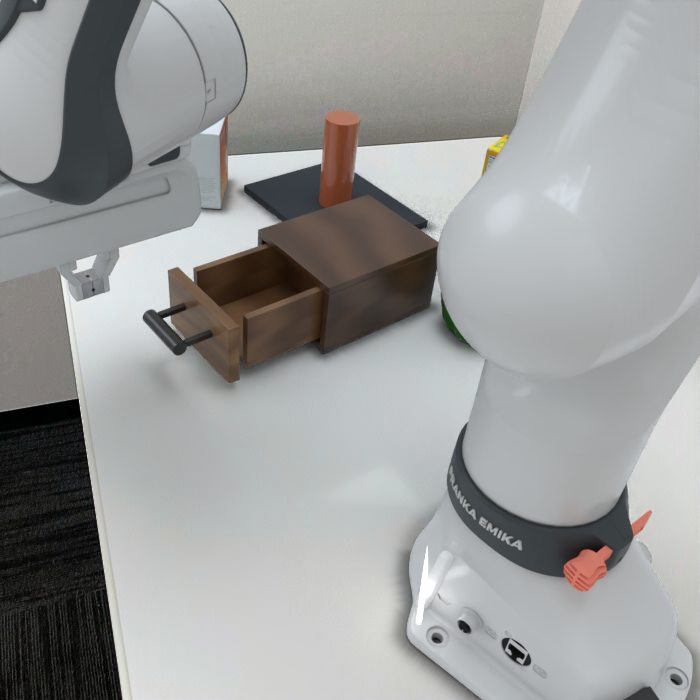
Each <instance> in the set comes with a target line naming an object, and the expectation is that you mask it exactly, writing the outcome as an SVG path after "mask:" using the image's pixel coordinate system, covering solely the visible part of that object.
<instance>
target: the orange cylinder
mask: <svg viewBox="0 0 700 700" xmlns="http://www.w3.org/2000/svg"><path fill="white" fill-rule="evenodd" d="M360 126H361V118H360V116H359V115H358V114H357V113H354V112H352V111H349V110H348V111H346V110H342V109H341V110H330V111H328V112H327V113H326V114H325V115H324V125H323V137H322V140H323V141H322V150H321V151H322V152H321V163H320V164H321V176H320V189H319V204H320V205H321V206H322V207H324V208H328V207H331V206H334V205H337V204H340V203H343V202H346V201H350V200H352V191H353V182H354V172H355V170H356V162H357V155H358V144H359V135H360ZM355 173H356V172H355Z"/></svg>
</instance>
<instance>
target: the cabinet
mask: <svg viewBox="0 0 700 700" xmlns="http://www.w3.org/2000/svg"><path fill="white" fill-rule="evenodd" d="M266 243H267V244H269V245H270V246H271V247H272V248H273V249H275V250H276V251H277V252H278V253H280V254H281V255H282V256H283V257H284V258H286V259H287V260H288V261H289V262H290V263H292V264H293V265H294V266H295V267H297V268H298V269H299V270H300V271H301V272H303V273H304V274H305V275H306V276H307V277H309V278H310V279H311V280H312V281H314V282H315V283H316V284H317V285H318V286H320V287H321V288H322V289H323V290H324V301H323V312H322V323H321V334H320V338H318V339H315V340H313V341H311V342H309V343H310V344H311V345H312V346H314V348H316V349H317V350H318V351H319V352H320V353H321V354H323V355H325V354H327V353H329V352H331V351H334V350H336V349H338V348H341V347H343V346H345V345H347V344H350V343H352V342H355V341H357V340H358V339H359V340H360V339H361V338H364V337H365V336H367V335H371V334H372V333H375V332H378V331H379V330H381V329H384V328H385V327H388V326H390V325H392V324H395V323H397V322H399V321H402V320H403V319H405V318H408V317H411V316H413V315H415V314H417V313H419V312H421V311H424V310H426V309H428V308H430V306H431V302H432V296H433V291H434V286H435V282H436V277H437V249H438V243H439V240H437V239H435V238H433V237H432V236H430V235H429V234H427V233H426V232H425V231H423V230H422V229H418V228H417V227H415V226H414V225H413V224H411V223H410V222H408V221H407V220H405V219H404V218H402V217H401V216H399V215H398V214H396V213H395V212H393V211H392V210H390V209H389V208H387V207H386V206H384V205H383V204H381V203H380V202H378V201H377V200H376V199H374V198H373V197H371V196H370V195H365V196H362V197H359V198H356V199H353V200H350V201H346V202H343V203H340V204H337V205H334V206H331V207H328V208H324V209H321V210H318V211H315V212H312V213H309V214H306V215H303V216H299V217H296V218H293V219H290V220H287V221H284V222H283V221H281V222H278V223H274V224H271V225H268V226H265V227H262V228H259V229H257V246H260V245H263V244H266Z"/></svg>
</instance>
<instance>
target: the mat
mask: <svg viewBox="0 0 700 700" xmlns="http://www.w3.org/2000/svg"><path fill="white" fill-rule="evenodd" d="M321 164H322V163H318V164H315V165H311V166H308V167H304V168H301V169H297V170H293V171H289V172H286V173H282V174H279V175H276V176H272V177H267V178H264V179H261V180H257V181H254V182H251V183H247V184H244V186H243V192H244V193H245V194H246V195H248V196H249V197H250V198H252V199H253V200H254V201H255V202H257V203H258V204H259V205H261V206H262V207H263V208H264V209H266V210H267V211H268V212H270V213H271V214H272V215H273V216H274V217H276V218H277V219H279V220H280V221H281V222H284V221H287V220H290V219H293V218H296V217H299V216H303V215H306V214H309V213H312V212H315V211H318V210H321V209H324V207H322V206H321V205H320V204H319V189H320V176H321ZM365 195H370V196H371V197H373V198H374V199H376V200H377V201H378V202H380V203H381V204H383V205H384V206H386V207H387V208H389V209H390V210H392V211H393V212H395V213H396V214H398V215H399V216H401V217H402V218H404V219H405V220H407V221H408V222H410V223H411V224H413V225H414V226H415V227H417V228H418V229H420V230H422V229H426V228H428V223H429V220H428V219H426V218H425V217H423V216H422V215H420V214H418V212H416V211H414V210H413V209H411V208H410V207H408V206H406V205H405V204H403V203H402V202H401V201H399V200H398V199H396V198H394V197H393V196H391V195H390V194H388V193H387V192H385V191H384V190H382V189H381V188H379V187H378V186H376V185H375V184H374V183H372V182H370V181H369V180H367V179H366V178H365V177H363V176H361V175H360V174H358V173H357V172H354V182H353V191H352V200H353V199H356V198H359V197H362V196H365Z"/></svg>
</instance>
